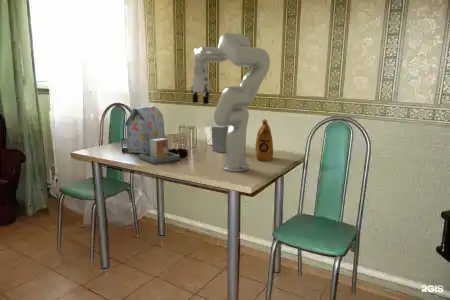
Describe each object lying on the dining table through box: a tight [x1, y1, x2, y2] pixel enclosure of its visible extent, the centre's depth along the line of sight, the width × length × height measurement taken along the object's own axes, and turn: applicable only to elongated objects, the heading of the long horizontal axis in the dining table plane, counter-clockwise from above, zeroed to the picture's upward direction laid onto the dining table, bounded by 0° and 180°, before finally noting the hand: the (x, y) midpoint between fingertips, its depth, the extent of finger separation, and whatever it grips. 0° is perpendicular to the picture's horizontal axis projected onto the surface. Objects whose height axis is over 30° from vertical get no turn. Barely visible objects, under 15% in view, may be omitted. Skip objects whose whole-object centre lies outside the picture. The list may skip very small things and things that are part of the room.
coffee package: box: [255, 118, 274, 162], centre depth 198 cm, size 10×12×22 cm
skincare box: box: [210, 124, 229, 153], centre depth 216 cm, size 8×7×16 cm
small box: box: [150, 138, 169, 159], centre depth 194 cm, size 8×6×10 cm
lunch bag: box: [124, 105, 166, 154], centre depth 216 cm, size 22×17×26 cm
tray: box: [138, 151, 181, 165], centre depth 195 cm, size 16×16×3 cm
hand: (200, 103), depth 197 cm, fingers open, 9 cm apart
